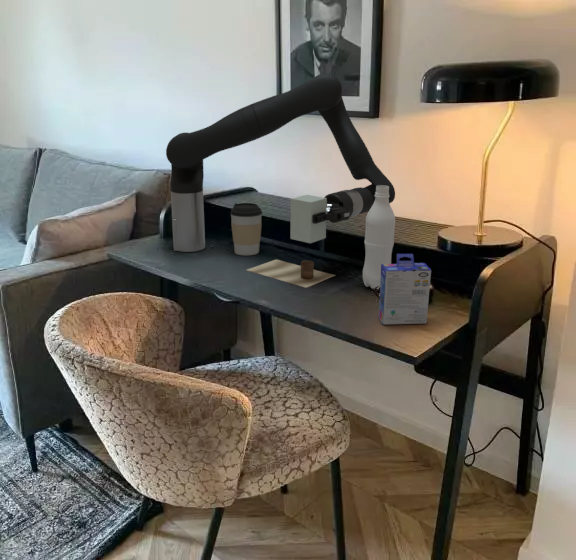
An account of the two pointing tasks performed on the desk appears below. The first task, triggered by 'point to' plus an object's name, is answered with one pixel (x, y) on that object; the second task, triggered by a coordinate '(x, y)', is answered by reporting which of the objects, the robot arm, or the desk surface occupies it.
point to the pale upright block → (307, 218)
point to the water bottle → (378, 237)
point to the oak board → (292, 272)
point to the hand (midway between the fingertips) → (302, 217)
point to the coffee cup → (246, 228)
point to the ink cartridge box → (404, 292)
